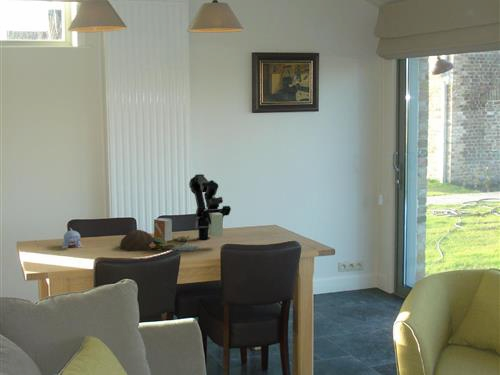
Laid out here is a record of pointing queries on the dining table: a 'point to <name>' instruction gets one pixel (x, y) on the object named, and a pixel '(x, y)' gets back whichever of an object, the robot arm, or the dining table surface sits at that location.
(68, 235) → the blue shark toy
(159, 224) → the small box
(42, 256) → the dining table surface
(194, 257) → the dining table surface
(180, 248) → the slate mat
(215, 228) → the sage block
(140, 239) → the decorative dome
